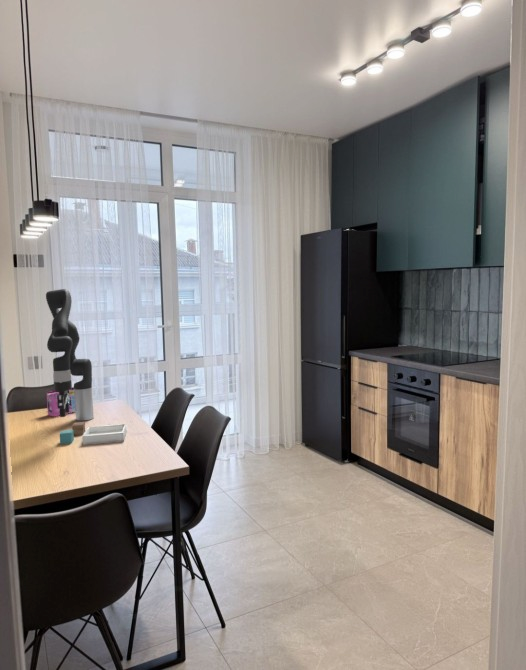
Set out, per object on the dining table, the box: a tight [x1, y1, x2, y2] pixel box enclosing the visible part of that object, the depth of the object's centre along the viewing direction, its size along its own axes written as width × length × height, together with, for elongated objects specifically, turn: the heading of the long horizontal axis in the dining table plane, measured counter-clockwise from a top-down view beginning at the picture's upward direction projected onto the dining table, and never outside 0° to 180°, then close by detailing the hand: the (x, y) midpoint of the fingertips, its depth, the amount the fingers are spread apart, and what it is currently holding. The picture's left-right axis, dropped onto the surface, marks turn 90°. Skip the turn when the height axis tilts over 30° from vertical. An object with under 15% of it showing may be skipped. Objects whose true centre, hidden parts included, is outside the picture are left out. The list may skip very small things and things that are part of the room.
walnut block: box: [71, 421, 86, 436], centre depth 232 cm, size 5×5×5 cm
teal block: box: [59, 429, 75, 445], centre depth 218 cm, size 5×5×5 cm
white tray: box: [81, 423, 128, 446], centre depth 223 cm, size 16×18×4 cm
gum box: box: [46, 386, 76, 418], centre depth 276 cm, size 24×8×14 cm, turn 140°
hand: (64, 414), depth 217 cm, fingers open, 8 cm apart
